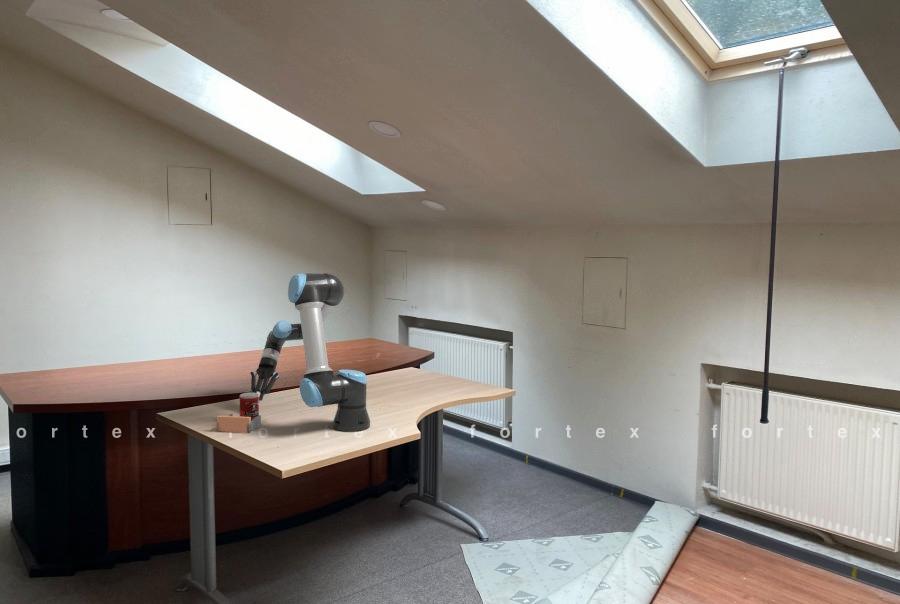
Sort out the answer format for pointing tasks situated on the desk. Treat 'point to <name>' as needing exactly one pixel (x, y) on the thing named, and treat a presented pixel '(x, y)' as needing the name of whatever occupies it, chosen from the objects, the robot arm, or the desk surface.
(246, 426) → the bracket
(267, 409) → the desk surface
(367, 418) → the robot arm
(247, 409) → the canned food
